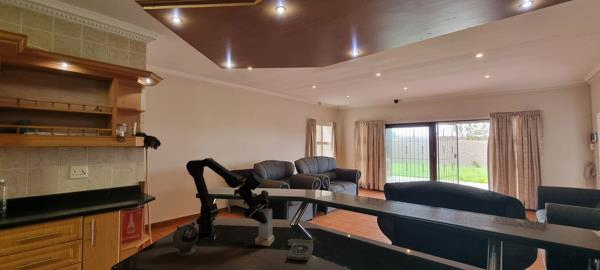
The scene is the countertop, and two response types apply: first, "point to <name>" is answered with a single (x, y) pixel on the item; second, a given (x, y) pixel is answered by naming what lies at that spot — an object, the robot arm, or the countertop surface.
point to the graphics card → (300, 249)
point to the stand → (264, 241)
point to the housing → (266, 224)
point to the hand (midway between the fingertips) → (268, 221)
